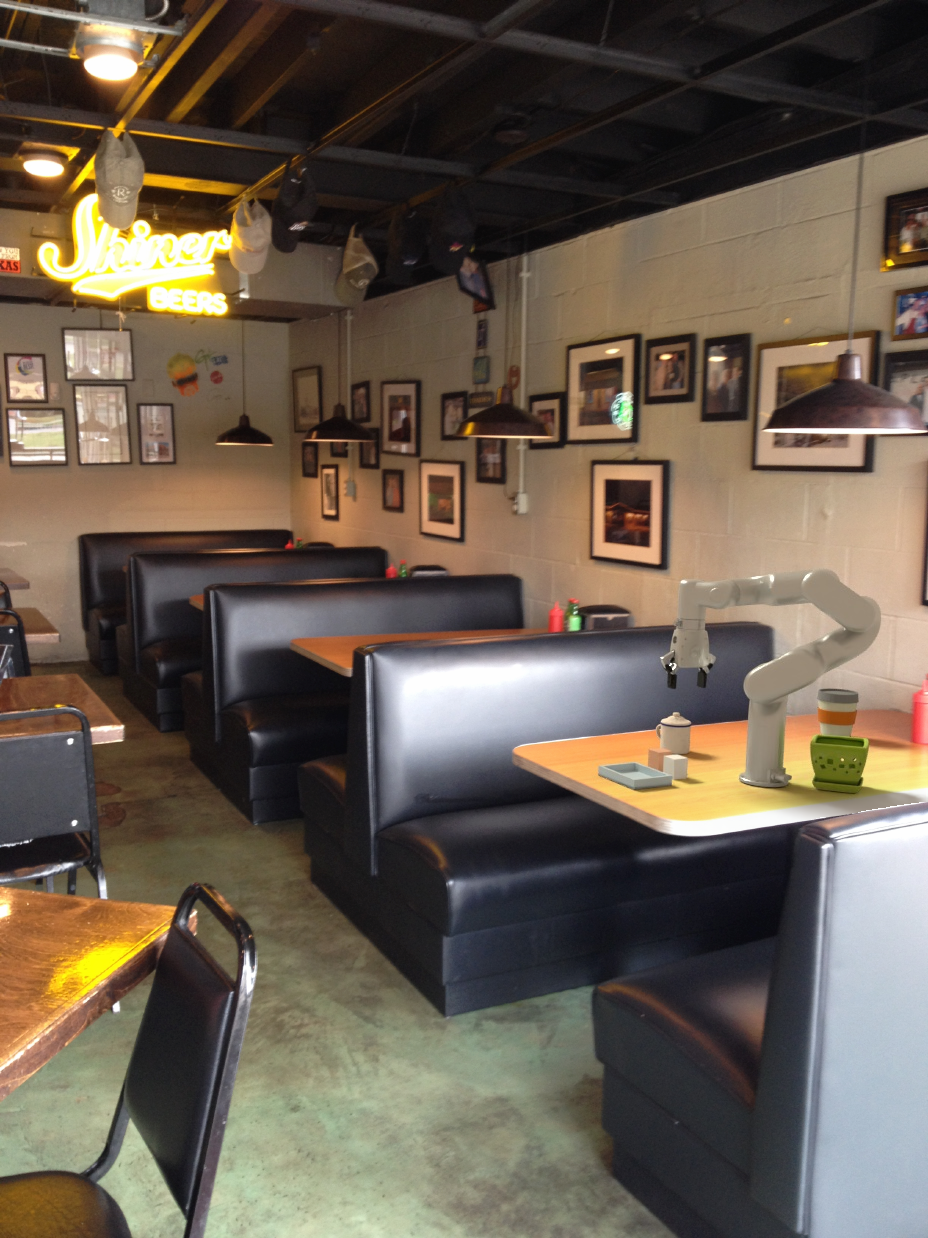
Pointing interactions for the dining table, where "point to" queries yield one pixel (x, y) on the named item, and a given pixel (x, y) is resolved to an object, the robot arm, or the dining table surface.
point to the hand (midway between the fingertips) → (686, 687)
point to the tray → (635, 775)
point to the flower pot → (838, 762)
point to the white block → (675, 766)
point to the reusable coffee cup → (837, 711)
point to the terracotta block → (657, 758)
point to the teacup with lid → (675, 734)
